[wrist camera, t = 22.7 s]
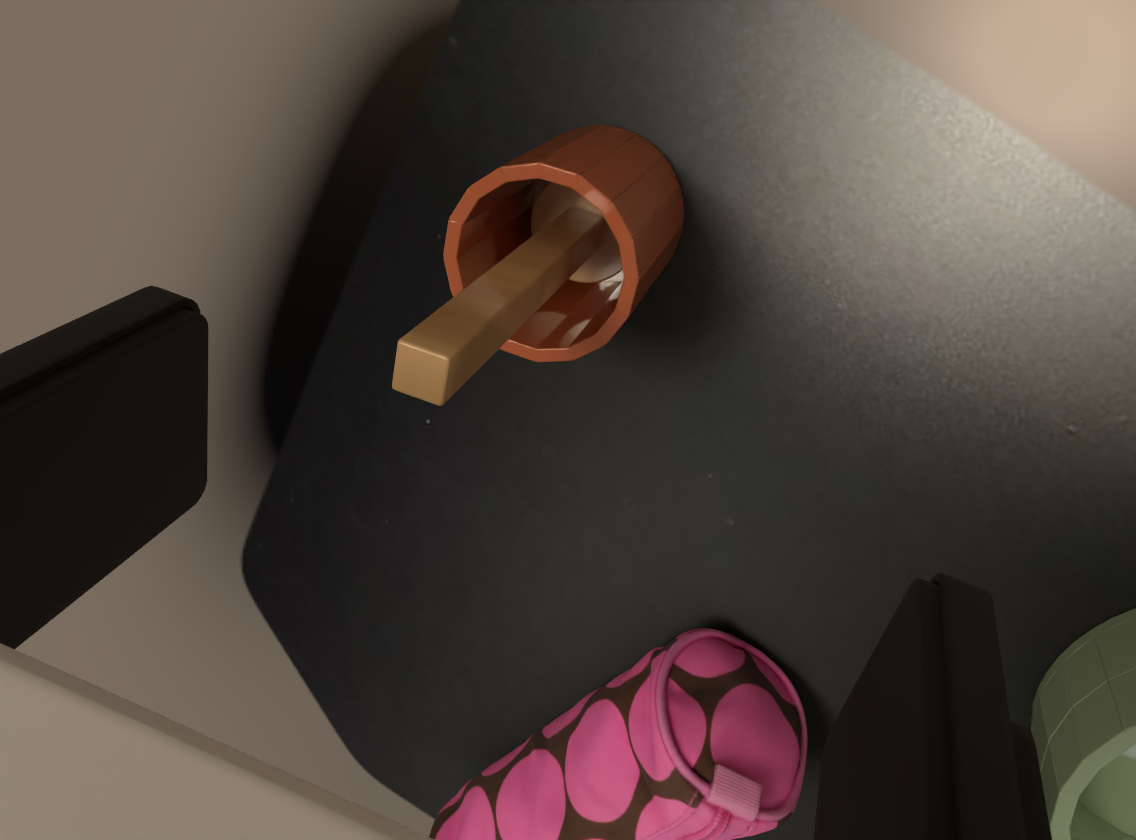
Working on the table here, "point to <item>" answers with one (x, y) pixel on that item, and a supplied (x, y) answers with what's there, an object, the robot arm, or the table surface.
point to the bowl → (1090, 734)
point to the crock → (610, 183)
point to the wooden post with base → (507, 295)
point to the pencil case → (652, 756)
